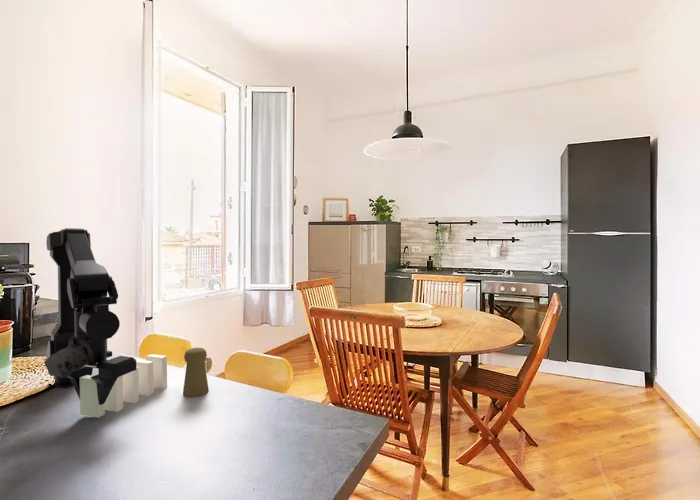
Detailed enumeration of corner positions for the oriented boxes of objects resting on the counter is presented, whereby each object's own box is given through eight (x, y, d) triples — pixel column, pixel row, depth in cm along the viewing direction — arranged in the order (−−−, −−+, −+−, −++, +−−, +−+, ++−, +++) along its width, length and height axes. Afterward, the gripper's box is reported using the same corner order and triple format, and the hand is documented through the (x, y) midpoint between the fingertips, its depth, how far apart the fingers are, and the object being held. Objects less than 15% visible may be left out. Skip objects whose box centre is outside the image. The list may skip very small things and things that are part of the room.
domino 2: (133, 403, 90) (132, 369, 90) (116, 400, 92) (116, 367, 92) (139, 400, 92) (138, 367, 92) (122, 397, 93) (121, 365, 93)
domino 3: (148, 395, 95) (148, 363, 94) (132, 393, 96) (131, 361, 96) (153, 393, 96) (153, 361, 96) (137, 390, 98) (137, 359, 97)
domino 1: (116, 411, 86) (116, 376, 86) (99, 408, 88) (98, 373, 87) (122, 408, 88) (122, 374, 87) (105, 405, 89) (105, 371, 89)
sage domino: (98, 417, 82) (97, 380, 81) (80, 414, 83) (79, 377, 83) (104, 414, 83) (104, 377, 83) (87, 410, 85) (86, 374, 84)
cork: (199, 398, 94) (199, 353, 93) (177, 396, 95) (177, 351, 94) (213, 388, 100) (213, 346, 99) (192, 386, 101) (191, 344, 100)
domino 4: (162, 388, 99) (162, 357, 99) (146, 386, 101) (146, 355, 100) (167, 386, 101) (166, 356, 100) (151, 384, 102) (151, 354, 102)
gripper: (18, 336, 77) (20, 412, 78) (89, 345, 72) (91, 427, 73) (72, 323, 88) (73, 391, 89) (138, 330, 83) (139, 402, 84)
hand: (92, 402), depth 83 cm, fingers closed on sage domino, 5 cm apart
